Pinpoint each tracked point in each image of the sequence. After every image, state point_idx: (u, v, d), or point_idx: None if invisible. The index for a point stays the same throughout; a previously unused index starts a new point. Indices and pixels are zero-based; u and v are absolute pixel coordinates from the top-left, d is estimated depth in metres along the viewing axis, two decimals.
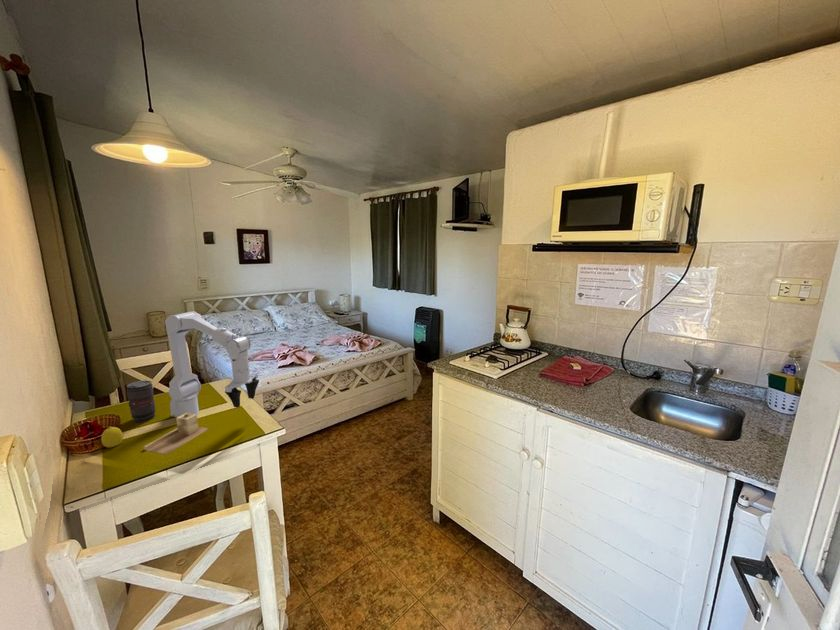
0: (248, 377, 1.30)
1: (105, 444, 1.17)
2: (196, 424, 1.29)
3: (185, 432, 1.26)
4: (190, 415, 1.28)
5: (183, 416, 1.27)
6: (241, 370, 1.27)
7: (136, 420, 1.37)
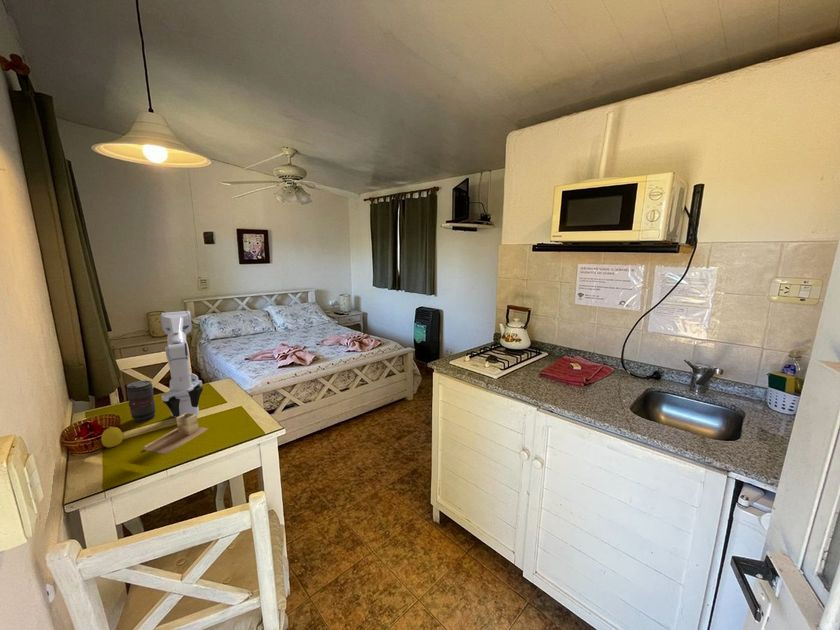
0: (189, 385, 1.24)
1: (105, 444, 1.17)
2: (196, 424, 1.29)
3: (185, 432, 1.26)
4: (190, 415, 1.28)
5: (183, 416, 1.27)
6: (174, 378, 1.21)
7: (136, 420, 1.37)
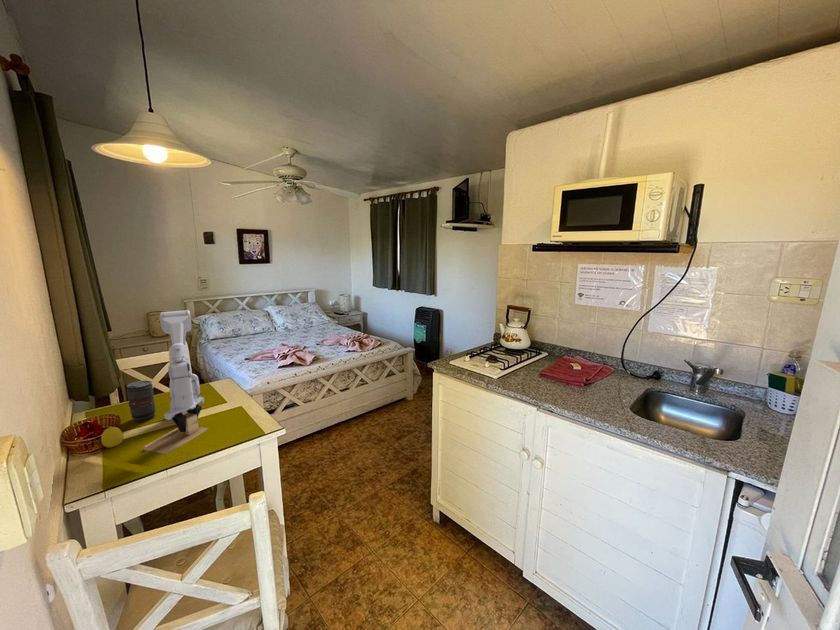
0: (191, 403, 1.26)
1: (105, 444, 1.17)
2: (196, 424, 1.29)
3: (185, 432, 1.26)
4: (190, 415, 1.28)
5: None
6: (176, 396, 1.23)
7: (136, 420, 1.37)
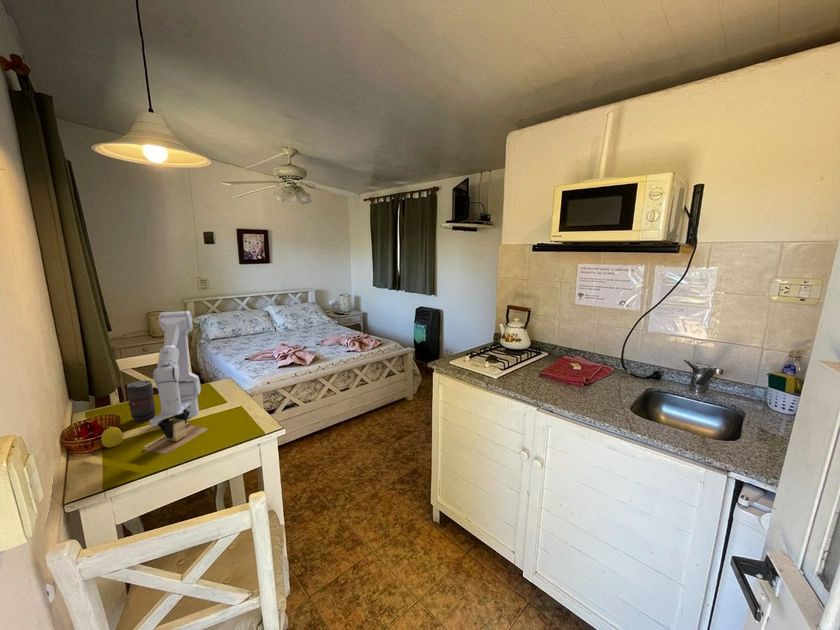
0: (178, 408, 1.21)
1: (105, 444, 1.17)
2: (184, 430, 1.24)
3: (172, 438, 1.21)
4: (177, 421, 1.23)
5: None
6: (161, 401, 1.18)
7: (136, 420, 1.37)
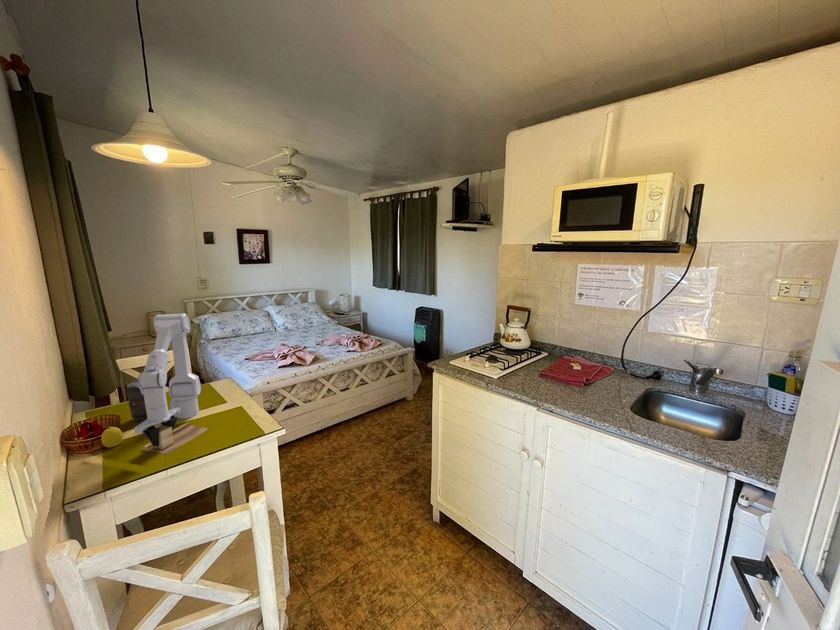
0: (165, 414, 1.16)
1: (105, 444, 1.17)
2: (171, 437, 1.19)
3: (158, 446, 1.16)
4: (164, 428, 1.18)
5: None
6: (146, 407, 1.13)
7: (136, 420, 1.37)
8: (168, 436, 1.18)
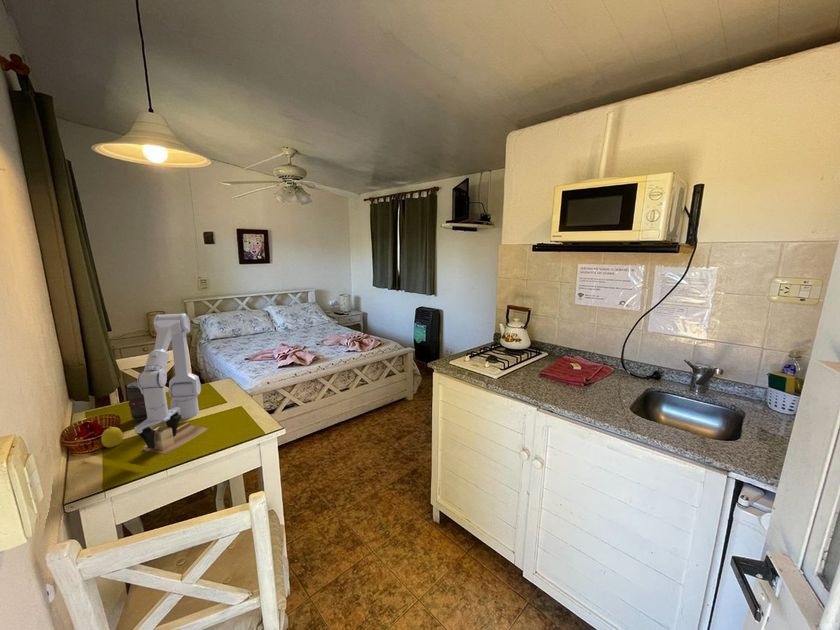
0: (165, 414, 1.16)
1: (105, 444, 1.17)
2: (171, 438, 1.19)
3: (159, 447, 1.17)
4: (164, 429, 1.18)
5: (157, 430, 1.17)
6: (146, 407, 1.13)
7: (136, 420, 1.37)
8: (168, 437, 1.18)
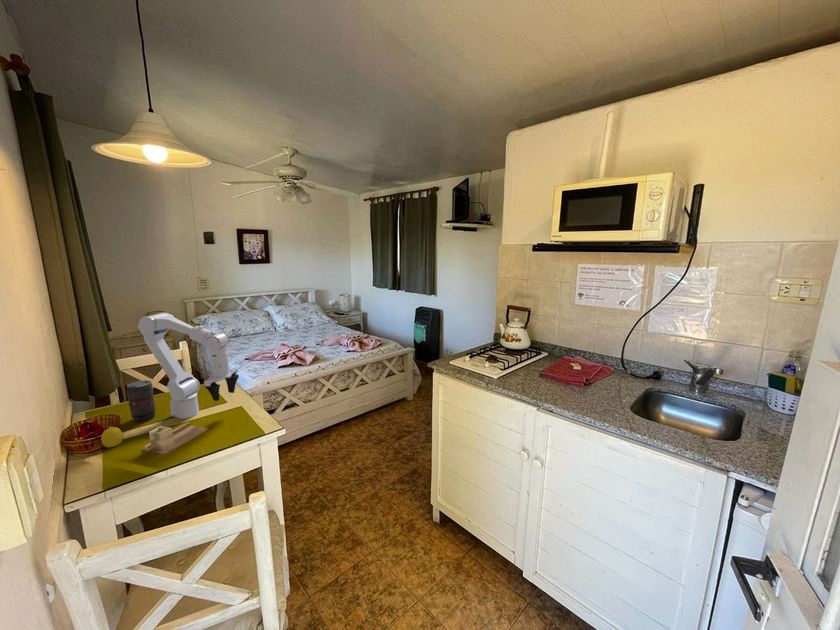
0: (227, 372, 1.36)
1: (105, 444, 1.17)
2: (171, 438, 1.19)
3: (159, 447, 1.17)
4: (164, 429, 1.18)
5: (157, 430, 1.17)
6: (222, 365, 1.33)
7: (136, 420, 1.37)
8: (168, 437, 1.18)
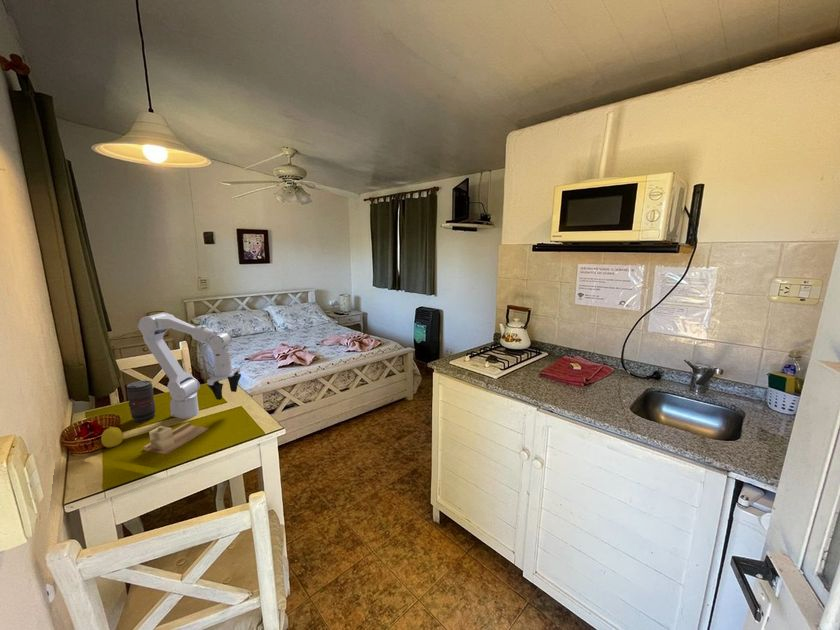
0: (230, 371, 1.37)
1: (105, 444, 1.17)
2: (171, 438, 1.19)
3: (159, 447, 1.17)
4: (164, 429, 1.18)
5: (157, 430, 1.17)
6: (225, 364, 1.35)
7: (136, 420, 1.37)
8: (168, 437, 1.18)
